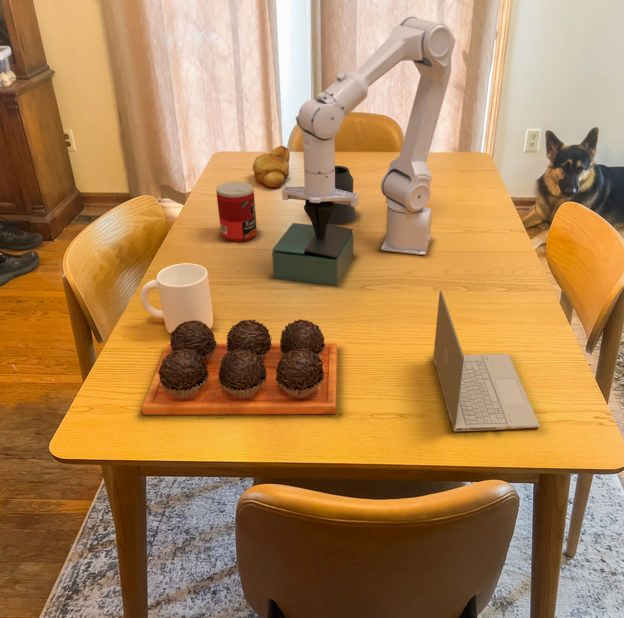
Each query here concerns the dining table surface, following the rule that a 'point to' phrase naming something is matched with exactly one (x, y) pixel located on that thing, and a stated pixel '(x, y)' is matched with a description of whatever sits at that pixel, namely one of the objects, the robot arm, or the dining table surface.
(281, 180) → the bread roll
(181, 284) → the mug
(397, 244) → the robot arm
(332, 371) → the truffle serving tray
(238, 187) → the canned food
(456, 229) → the dining table surface
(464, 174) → the dining table surface
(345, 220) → the mug
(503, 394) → the laptop
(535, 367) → the dining table surface
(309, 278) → the storage box
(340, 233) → the lid
